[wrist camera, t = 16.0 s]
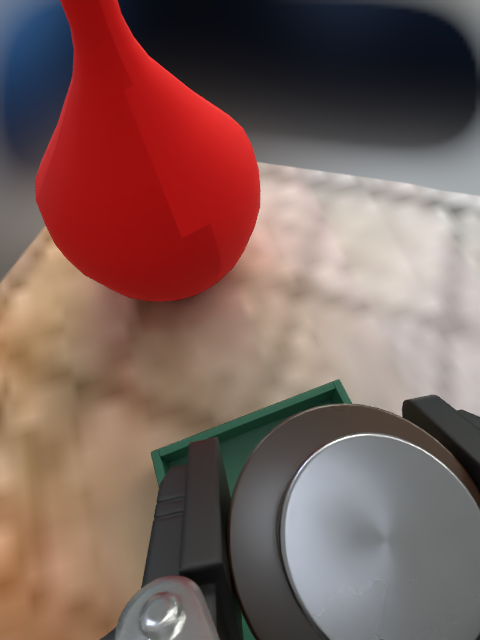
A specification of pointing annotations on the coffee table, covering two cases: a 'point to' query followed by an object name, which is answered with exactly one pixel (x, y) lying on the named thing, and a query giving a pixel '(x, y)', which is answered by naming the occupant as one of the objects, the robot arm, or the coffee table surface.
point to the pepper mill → (355, 532)
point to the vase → (143, 170)
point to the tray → (247, 437)
